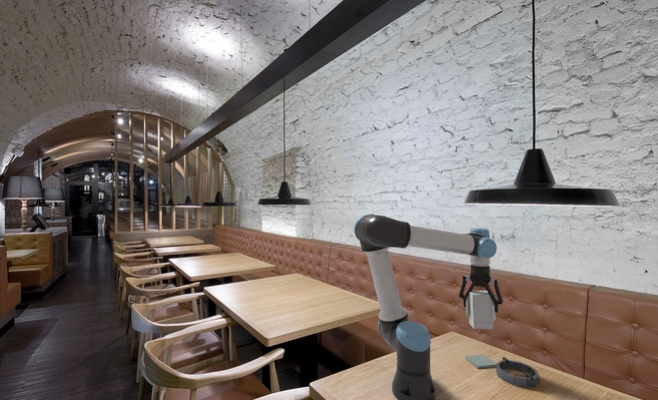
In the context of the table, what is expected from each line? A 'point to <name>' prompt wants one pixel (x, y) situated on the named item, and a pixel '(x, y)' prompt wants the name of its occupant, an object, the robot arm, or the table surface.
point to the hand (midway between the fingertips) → (480, 317)
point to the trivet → (480, 361)
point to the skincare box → (480, 310)
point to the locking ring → (530, 381)
